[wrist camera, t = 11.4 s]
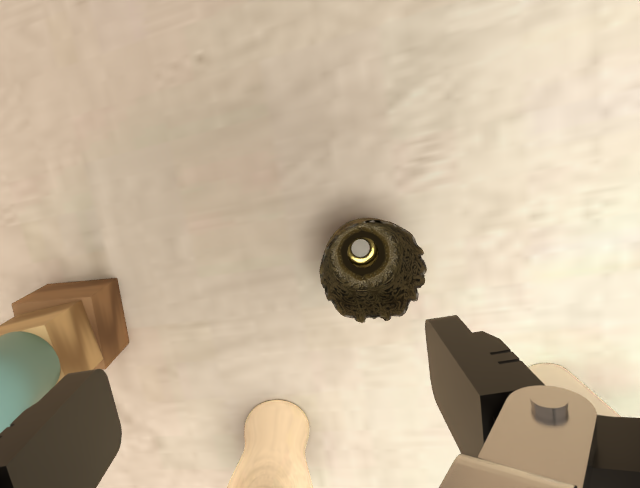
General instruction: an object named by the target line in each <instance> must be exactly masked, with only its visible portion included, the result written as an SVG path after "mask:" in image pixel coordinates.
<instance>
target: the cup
mask: <svg viewBox="0 0 640 488" xmlns="http://www.w3.org/2000/svg"><path fill="white" fill-rule="evenodd" d="M358 239H364V240H366V241H367V242H368V243H369V245H370V251H369V253H368V254H367V255H366V256H365V257H361V258H360V257H356V256H355V255H354V254H353V253H352V251H351V246H352V244H353V242H354V241H356V240H358ZM423 254H424V252H423V250H422V249H421V248H420V247H419V246H418V245H417V243H416V241H415V238H414V237H413V235H412V234H411V233H410V232H408V231H407V230H405V229H403V228H401V227H399V226H398V225H396V224H394V223H391V222H388V221H383V220H380V219H375V218H361V219H357V220H353V221H351V222H348V223H346V224H345V225H343V226H342V227H340V228H339V229H338V230H337V231H336V232H335V233H334V234H333V236H332V237H331V239H330V240H329V242H328V244H327V246H326V249H325V252H324V255H323V258H322V262H321V266H320V278H321V284H322V286H323V288H325V294H326V297H327V299H328V301H332V303H333V304H334V306H335V308H336V309H337V311H338V312H339V313H340V314H341V315H343V316H344V317H350V318H355V320H356V321H358V322H361V323H363V322H365V320H366V318H369V317H370V318H373V319H375V318H377V317H380V318H383V319H384V320H385V321H388V320H390V319H391V316H402V315H404V314H405V313H406V311H407V309H408V305H409V303H410V301H417V300H418V292H417V288H421V286H422V285H424V283H425V278H424V276H425V275H424V274H425V273H426V271H427V268H426V264H425V262H424V260H423V259H422V258H421V255H423Z"/></svg>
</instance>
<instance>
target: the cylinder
mask: <svg viewBox="0 0 640 488" xmlns="http://www.w3.org/2000/svg"><path fill="white" fill-rule="evenodd" d="M59 376H60V362H59V358H58V356H57V354H56V352H55V350H54V349H53V348H52V346H51V345H50V344H49V343H48V342H46V341H45V340H44V339H42V338H41V337H39V336H37V335H35V334H32V333H28V332H21V331H18V332H10V333H6V334H4V335H2V336H0V433H1V432H2V431H3V430H4V429H6V428H7V427H10V424H11V423H12V422H13V421H14V420H15V419H16V418H17V417H18V416H19V415H20V414H21V413H22V412H23V411H24V410H26V409H27V408H29V407H31V406H32V405H34V404H35V403H37V402H38V401H39V400H40V399H41V398H42V397H44V396H45V395H46V394H47V393H48V392H49V391H50V390H51V389H52V388H53V387H54V386H55V385H56V383H57V381H58V379H59Z"/></svg>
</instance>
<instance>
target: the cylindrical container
mask: <svg viewBox="0 0 640 488" xmlns="http://www.w3.org/2000/svg"><path fill="white" fill-rule="evenodd" d="M528 368H529V369H530V370H531V371H532V372H533V373H534V374H535V375H536V376H537V377H538V378H539V379H540V380H541V381H542V382H543V383H544V384H545V385H546V386H554V387H560V388H564V389H567V390H571V391H573V392H575V393H578V394H580V395H581V396H583V397H585V398H586V399H587V400H589V401H590V402H591V403H592V404H593V406H594V407H595V409H596V412H597V415H603V416H611V417H621V416H620V415H619V414H617V413H616V412H615V411H614V410H613V409H612V408H610V407H609V406H608V405H607V404H606V403H605V402H604V401H602V400H601V399H600V398H599V397H598V396H597V395H596V394H594V393H593V392H592V391H591V390H590V389H589V388H588V387H586V386H585V385H584V384H583V383H582V382H581V381H579V380H578V379H577V378H576V377H575V376H574V375H573V374H571V373H570V372H569V371H568V370H567V369H565V368H563V367H561V366H559V365H556V364H551V363H541V364H536V365H532V366H529V367H528Z"/></svg>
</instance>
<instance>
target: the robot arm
mask: <svg viewBox="0 0 640 488" xmlns="http://www.w3.org/2000/svg"><path fill="white" fill-rule="evenodd" d="M425 332H426V342H427V351H428V360H429V370H430V379H431V385H432V390H433V394H434V397H435V400H436V403H437V405H438V407H439V409H440V411H441V413H442V415H443V417H444V419H445V422H446V424H447V426H448V428H449V430H450V432H451V434H452V436H453V438H454V440H455V442H456V444H457V446H458V448H459V450H460V452H461V454H459V455H458V456H457V457H456V459H455V460H454V462H453V463H452V465H451V467H450V469H449V471H448V472H447V474H446V476H445V478H444V480H443V481H442V483H441V485H440V487H439V488H640V418H628V417H611V416H603V415H597V412H596V409H595V407H594V406H593V404H592V403H591V402H590V401H589V400H587V399H586V398H585V397H583V396H581V395H580V394H578V393H575V392H573V391H571V390H567V389H564V388H560V387H554V386H546V385H545V384H544V383H543V382H542V381H541V380H540V379H539V378H538V377H537V376H536V375H535V374H534V373H533V372H532V371H531V370H530V369H529V368H528V367H527V366H526V365H525V364H524V363H523V362H522V361H520V360H519V358H518V357H517V356H516V355H515V354H514V353H513V352H511V351H510V349H509V348H508V347H507V346H506V345H505V344H504V343H503V342H502V341H501V340H500V339H499V338H497V337H494V336H492V335H490V334H488V333H485V332H483V331H480V332H474V333H472V332H471V331H470V330H469V329H468V328H467V326H466V325H465V324H464V323H463V322H462V321H461V320H460V318H459V317H458V316H457V315H454V316H447V317H441V318H434V319H427V320H426V322H425ZM121 437H122V431H121V424H120V420H119V417H118V413H117V409H116V406H115V402H114V398H113V395H112V391H111V387H110V384H109V380H108V377H107V375H106V373H105V372H104V371H103V370H102V369H94V370H87V371H80V372H74V373H68V374H67V375H65V376H64V377H63V378H62V379H61V380H60V381H59V382H58V383H57V384H56V385H55V386H54V387H53V388H52V389H51V390H50V391H49V392H48V393H47V394H46V395H45V396H44V397H42V398H41V399H40V400H39V401H38V402H37V403H35V404H34V405H32V406H31V407H29V408H27V409H26V410H24V411H23V412H22V413H21V414H20V415H19V416H18V417H17V418H16V419H15V420H14V421H13V422H12V423H11V424H10V427H7V428H6V429H4V430H3V431H2V432H1V433H0V488H96V487H97V485H98V484H99V482H100V481H101V479H102V477H103V476H104V474H105V472H106V471H107V469H108V467H109V466H110V464H111V462H112V461H113V459H114V458H115V456H116V454H117V453H118V451H119V448H120V444H121Z"/></svg>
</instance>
